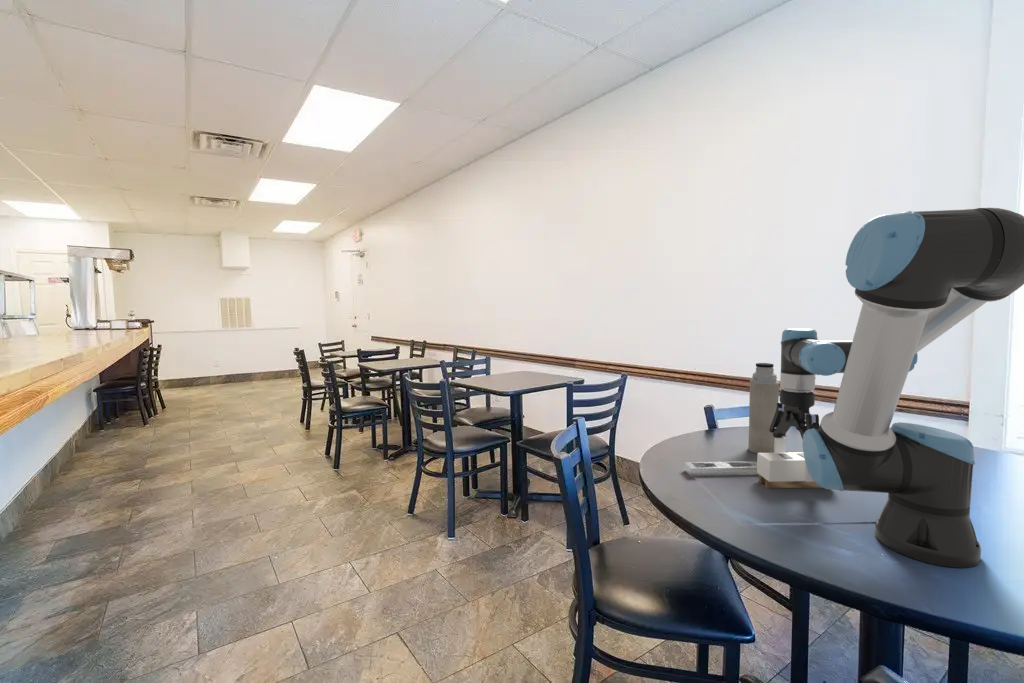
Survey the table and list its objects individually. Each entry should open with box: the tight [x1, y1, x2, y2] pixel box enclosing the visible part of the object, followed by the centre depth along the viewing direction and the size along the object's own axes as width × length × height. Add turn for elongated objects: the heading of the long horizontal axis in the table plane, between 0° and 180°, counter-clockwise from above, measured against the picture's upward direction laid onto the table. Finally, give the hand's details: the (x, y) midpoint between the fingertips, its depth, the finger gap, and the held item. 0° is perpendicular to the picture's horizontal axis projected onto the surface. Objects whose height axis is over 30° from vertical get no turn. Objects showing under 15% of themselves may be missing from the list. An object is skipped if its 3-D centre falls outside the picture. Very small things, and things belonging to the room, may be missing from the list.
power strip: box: [756, 451, 805, 482], centre depth 117 cm, size 16×6×8 cm, turn 89°
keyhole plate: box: [684, 460, 759, 478], centre depth 127 cm, size 5×20×2 cm, turn 89°
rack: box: [758, 474, 821, 489], centre depth 117 cm, size 16×4×2 cm, turn 89°
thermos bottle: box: [747, 362, 780, 454], centre depth 143 cm, size 8×8×28 cm
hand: (794, 470), depth 117 cm, fingers open, 13 cm apart
